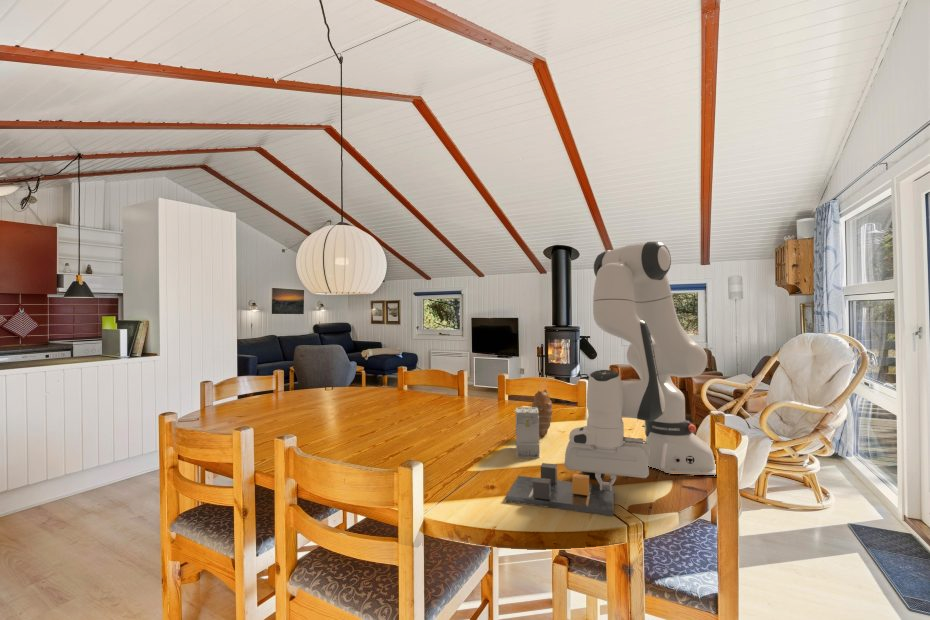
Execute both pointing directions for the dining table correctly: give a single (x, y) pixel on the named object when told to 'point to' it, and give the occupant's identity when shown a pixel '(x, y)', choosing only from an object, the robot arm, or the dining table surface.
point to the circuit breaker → (527, 432)
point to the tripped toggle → (580, 484)
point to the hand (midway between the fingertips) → (606, 490)
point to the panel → (563, 497)
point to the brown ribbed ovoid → (543, 411)
